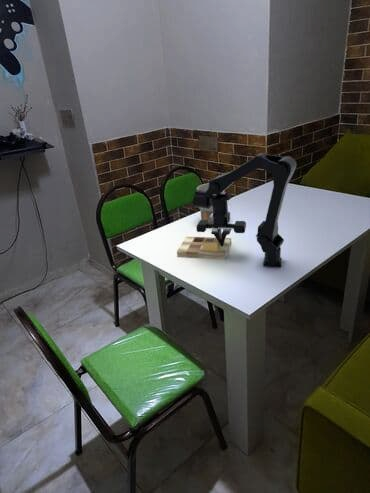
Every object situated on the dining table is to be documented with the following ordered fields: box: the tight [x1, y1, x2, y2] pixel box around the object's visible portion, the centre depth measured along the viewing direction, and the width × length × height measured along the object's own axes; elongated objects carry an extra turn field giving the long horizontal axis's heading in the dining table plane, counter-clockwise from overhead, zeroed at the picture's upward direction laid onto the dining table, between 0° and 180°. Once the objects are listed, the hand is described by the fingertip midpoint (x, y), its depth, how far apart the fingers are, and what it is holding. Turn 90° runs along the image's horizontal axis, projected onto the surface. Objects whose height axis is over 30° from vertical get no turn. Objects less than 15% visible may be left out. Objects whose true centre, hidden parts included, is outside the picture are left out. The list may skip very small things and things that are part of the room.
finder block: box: [202, 236, 220, 251], centre depth 139 cm, size 5×6×4 cm
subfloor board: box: [176, 236, 232, 260], centre depth 144 cm, size 14×20×2 cm
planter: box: [196, 182, 226, 221], centre depth 167 cm, size 13×13×18 cm
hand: (222, 245), depth 138 cm, fingers closed
